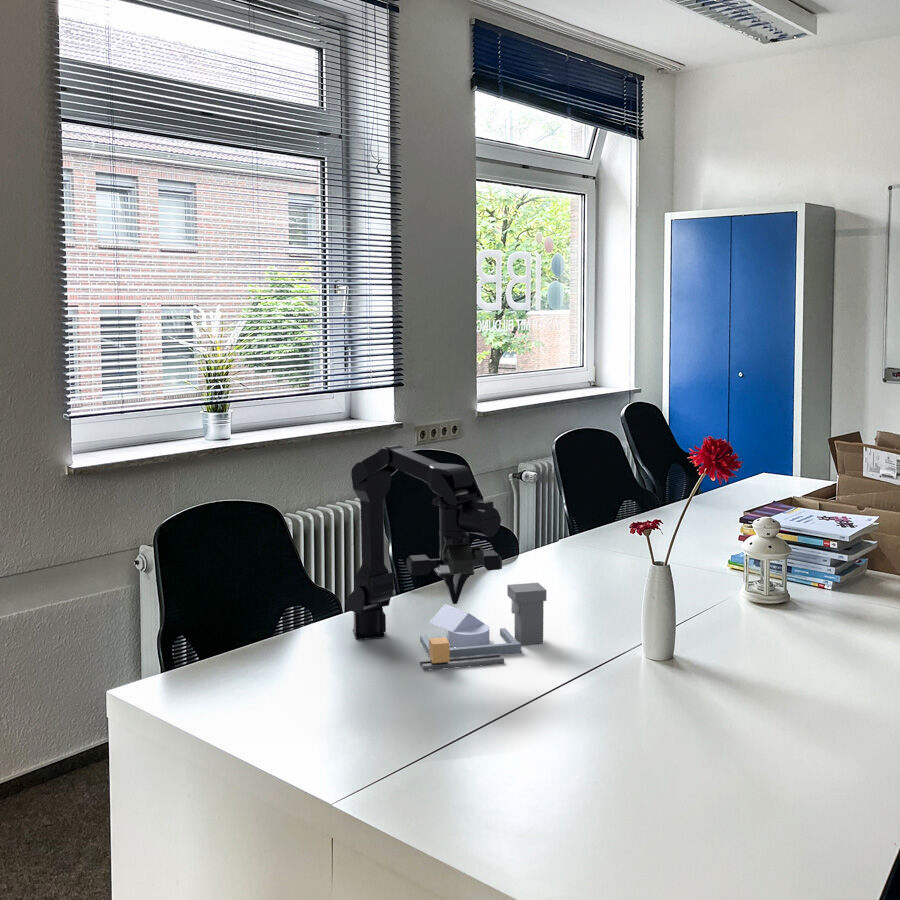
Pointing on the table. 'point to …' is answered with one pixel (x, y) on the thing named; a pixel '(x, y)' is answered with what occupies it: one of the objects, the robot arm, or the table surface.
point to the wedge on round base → (461, 627)
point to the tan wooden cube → (439, 650)
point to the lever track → (464, 661)
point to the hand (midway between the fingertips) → (454, 603)
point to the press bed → (526, 623)
